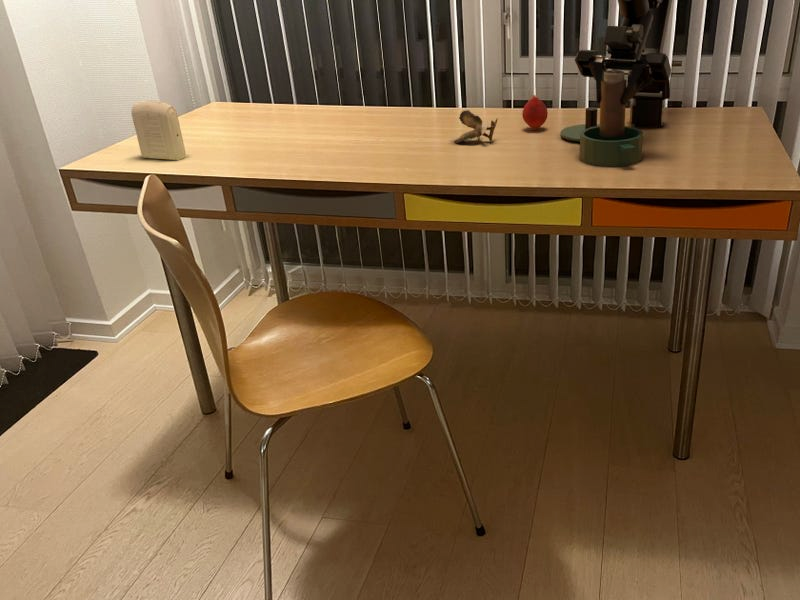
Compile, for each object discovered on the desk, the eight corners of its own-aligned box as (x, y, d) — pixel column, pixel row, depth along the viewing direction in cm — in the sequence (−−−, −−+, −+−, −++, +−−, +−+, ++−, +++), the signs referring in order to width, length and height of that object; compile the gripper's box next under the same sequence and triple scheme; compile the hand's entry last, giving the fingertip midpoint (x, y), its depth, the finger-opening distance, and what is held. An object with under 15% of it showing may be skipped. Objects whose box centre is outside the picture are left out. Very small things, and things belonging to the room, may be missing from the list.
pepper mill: (616, 129, 166) (619, 65, 160) (628, 135, 162) (631, 69, 156) (595, 132, 165) (596, 68, 158) (606, 138, 161) (609, 72, 154)
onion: (547, 126, 190) (547, 91, 186) (547, 132, 185) (547, 97, 181) (523, 126, 190) (522, 92, 186) (522, 133, 185) (521, 97, 181)
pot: (620, 143, 174) (622, 120, 172) (658, 165, 159) (659, 140, 157) (566, 149, 172) (566, 126, 169) (598, 173, 157) (599, 147, 154)
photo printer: (189, 155, 181) (177, 99, 174) (178, 161, 177) (164, 104, 171) (151, 153, 183) (137, 98, 177) (139, 159, 180) (124, 102, 174)
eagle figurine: (497, 130, 183) (459, 123, 184) (498, 108, 177) (459, 100, 178) (489, 156, 180) (451, 148, 181) (489, 134, 174) (450, 126, 175)
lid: (607, 126, 187) (607, 99, 184) (631, 140, 176) (632, 112, 173) (552, 132, 185) (552, 105, 182) (573, 147, 173) (573, 118, 170)
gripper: (579, 6, 159) (555, 75, 156) (671, 8, 150) (647, 81, 148) (593, 42, 168) (571, 107, 166) (680, 45, 160) (658, 115, 158)
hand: (610, 102), depth 159 cm, fingers closed on pepper mill, 5 cm apart
